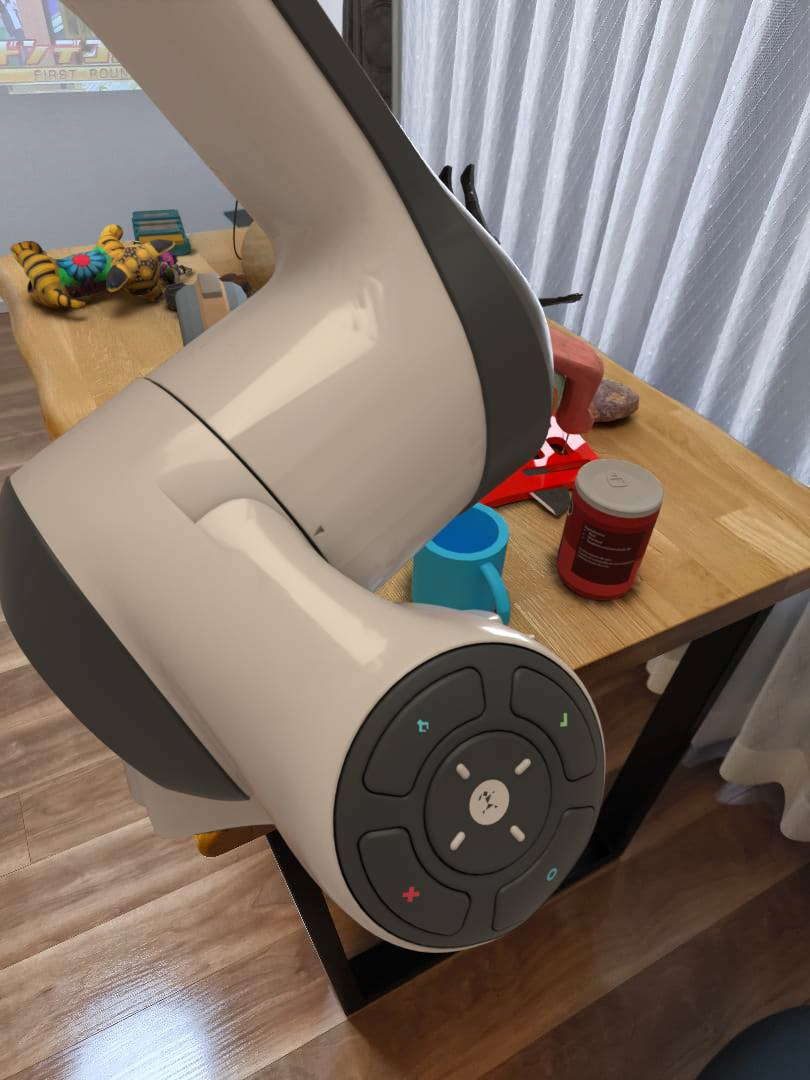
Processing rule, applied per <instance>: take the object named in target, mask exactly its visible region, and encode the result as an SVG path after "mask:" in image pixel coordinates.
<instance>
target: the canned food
mask: <svg viewBox="0 0 810 1080" xmlns="http://www.w3.org/2000/svg"><path fill="white" fill-rule="evenodd" d="M580 468H581V469H580V470H579V472H578V475H577V476H576V480H575V484H574V487H573V489H572V492H571V494H570V503H569V505H568V507H567V513H566V517H565V521H564V525H563V530H562V533H561V538H560V541H559V547H558V550H557V554H556V555H557V556H556V568H557V569H556V570H557V573H558V576H559V577H560V579H561V581H562V582H563V583H564V585H565V586H566V587H568V588H569V589H570V590H571V591H573V592H575V593H576V594H578V595H580V596H582V597H585V598H587V599H591V600H596V601H597V600H598V601H610V600H615V599H617V598H618V599H619V598H620V597H622V596H624V595H625V594H626V593H627V592H628V591H629V590H630V589H631V588H632V587H633V586H634V584H635V582H636V579H637V576H638V573H639V571H640V567H641V565H642V562H643V560H644V557H645V554H646V551H647V548H648V546H649V543H650V540H651V537H652V535H653V532H654V529H655V527H656V523H657V521H658V517H659V515H660V513H661V509H662V505H663V502H664V498H665V490H664V486H663V484H662V483H661V481H660V480H659V479H658V477H657V476H655V474H653V473H652V472H651V471H649V470H648V469H646V468H644V467H643V466H640V465H638V464H636V463H634V462H630V461H628V460H627V461H626V460H622V459H616V458H600V459H599V460H594V461H591V462H589V463H587V464H585V465H584V466H583V467H580Z"/></svg>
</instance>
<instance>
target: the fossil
mask: <svg viewBox="0 0 810 1080" xmlns="http://www.w3.org/2000/svg"><path fill="white" fill-rule="evenodd" d="M565 378H566V376H565ZM564 383H565V382H564ZM563 388H564V387H563ZM562 392H563V391H562ZM561 397H562V394H561ZM561 397H560V400H561ZM560 400H559V402H558V405H557V408H556V410H557V409H558V406H559V403H560ZM639 405H640V396H639V395H638V394H636V393H635V391H634V390H633V389H632V387H630V386H628V385H625V384H624V383H622V382H618V381H616V380H614V379H611V378H607V377H603V378H602V380H601V383H600V385H599V388H598V390H597V392H596V394H595V396H594V398H593V400H592V402H591V404H590V406H589V410H590V411H591V413H592V415H593V418H594V423H598V422H603V423H604V422H606V423H607V422H612V421H613V422H614V421H617V420H621V419H624V418H626V417H628V416H631V415H633V414H635V413H636V412H637V411H638V410H639Z"/></svg>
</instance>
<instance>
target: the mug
mask: <svg viewBox="0 0 810 1080" xmlns="http://www.w3.org/2000/svg"><path fill="white" fill-rule="evenodd" d="M509 538H510V531H509V525H508V523H507V522H506V521H505V518H504V517H503V516H502V515H501V514H500V513H499V512H497V511H496V510H495V509H494V508H490V507H488V506H485V505H483V504H481V503H477V504H475V505H474V506H473V507H472V508H470V509H469V510H468V511H467V512H465V513H463V514H461V515H459V516H457V517H454V518H453V519H452V520H451V521H450V522H449V523H448V524H447V525H446V526H445V527H444V528H443V529H442V530H441V531H440V532H439V533H438V534H437V535H436V536H435V537H433V538H432V539H431V540H430V541H429V542H428V543H427V544H426V545H425V546H424V547H423V548H422V549H421V550H420V551H419V552H418V553H417V554H416V555H415V556H414V557H413V558H412V573H411V600H412V603H422V604H430V605H436V606H442V607H447V608H452V609H456V610H461V611H463V610H483V611H488V612H493V613H494V611H495V610H496V614H497V615H499V616H500V617H501V619H502V622H503V624H504V625H506V626H509V623H510V620H511V611H512V609H511V603H510V599H509V598H510V597H509V594H508V592H507V591H508V590H507V589H506V586H505V583H504V581H503V579H502V578H503V572H504V567H505V562H506V554H507V550H508V544H509Z"/></svg>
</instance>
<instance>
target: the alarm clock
mask: <svg viewBox="0 0 810 1080" xmlns="http://www.w3.org/2000/svg"><path fill="white" fill-rule="evenodd" d="M196 278H197V279H196V280H195V281H194V283H192V284H186V285H187V286H184V287H183V288H181V289H180V290H179V291H178V292H177V293H176V297H175V301H176V307H177V310H176V313H177V318H178V323H179V329H180V335H181V340H182V345H183V347H185V346H186V345H187V344H189V343H190V342H191V341H193V340H194V339H195V338H197V337H198V336H199V335H201V334H202V333H203V332H204V331H206V330H207V329H208V328H210V327H211V326H212V325H214V324H215V323H216V322H218V321H219V320H220V319H222V318H223V317H224V316H226V315H227V314H228V313H230V312H231V311H232V310H234V309H235V308H236V307H238V306H239V305H240V304H242V303H243V302H244V301H246V300H247V299H248V296H247V293H246V294H245V292H244V291H243V289H242V288H241V286H239V285H237V284H235V283H233V282H222V281H221V280H220V279H219V278H220V277H219V276H218V273H217V272H215V271H211V272H200V273H196Z"/></svg>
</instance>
